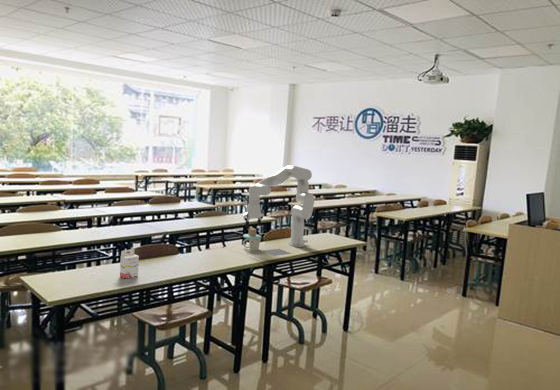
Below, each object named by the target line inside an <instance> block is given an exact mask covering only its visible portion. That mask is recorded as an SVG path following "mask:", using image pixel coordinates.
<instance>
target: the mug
mask: <svg viewBox="0 0 560 390" xmlns="http://www.w3.org/2000/svg"><path fill="white" fill-rule="evenodd" d="M261 238H262V237H261ZM261 238H259V239H248V238H244V240H243V241H242V245H243V247H244V248H247V249H249V250H250V251H258V250H259V249H260V243H261ZM247 241H249V243H248V244H249V246H247V245H246V244H245V243H246V242H247Z"/></svg>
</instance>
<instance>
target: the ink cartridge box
mask: <svg viewBox="0 0 560 390" xmlns="http://www.w3.org/2000/svg"><path fill="white" fill-rule="evenodd" d="M139 258H140V256H139V255H137V254H135V249H134V248H131V249H125V250H121V252H120V261H119V263H120V264H119V278H121V277H123V278H122V279H124V278H127V279H129V278H128V277H132V278H135V277H134V276H137V277H138V276H139V266H140V265H139Z"/></svg>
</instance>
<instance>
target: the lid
mask: <svg viewBox="0 0 560 390" xmlns="http://www.w3.org/2000/svg"><path fill="white" fill-rule="evenodd" d="M242 237H243V238H244V239H259V238H262V235H260V234H257V228H254V227H252V228H250V227H249V228H248V233H244V234H243V235H242Z"/></svg>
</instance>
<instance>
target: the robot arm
mask: <svg viewBox="0 0 560 390" xmlns="http://www.w3.org/2000/svg"><path fill="white" fill-rule="evenodd" d="M312 176H313V174H312V171H311V170H310V169H308V168H303V167H301V166H297V165H291V164H290V165H286V166H284V167H282V168H281V169H279V170H277V172H276V173H275V174H272V175H270V176H267V177H266V178H265V177H264V178H263V179H261V180H260V181H258V182H257V183H255V184H251V185H249V187H248V188H249V189H248V203H247V206H246V212H245V213H244V214H242V217H243V219H244V221H245V227H246V228H250V219H251V220H252V219H253V220H254V219H257V223H256V224H257V226H259V227H260V226H261V225H262V219H263V218H264V216H265V213H263V212H262V210H261V209H262V208H261V204H260V203H261V200H260V196H269V195H270V194H271V192H272V189H271V187H272V186H279V185H281V184H283V183H284V182H285V181H287V180H288V179H290V178H293V179H295V180H296V182H297V187H296V188H297V189H296V193H295V195H296V196H295V201H296V203H298V204H296V205H293V207H292V208H291V213H290V214H291V228H290V229H291V231H290V242H288V244H287V245H288V246H291V247H293V248H294V247H295V248H303V247H305V246H306V245H305V243H307V244H308V239H304V232H305V220H309V219H310V218H311V217H312V215H313V210H314V205H315V196H314V194H313V193H311V192H309V188H310V187H309V186H310V185H309V180H311V178H312Z"/></svg>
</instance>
